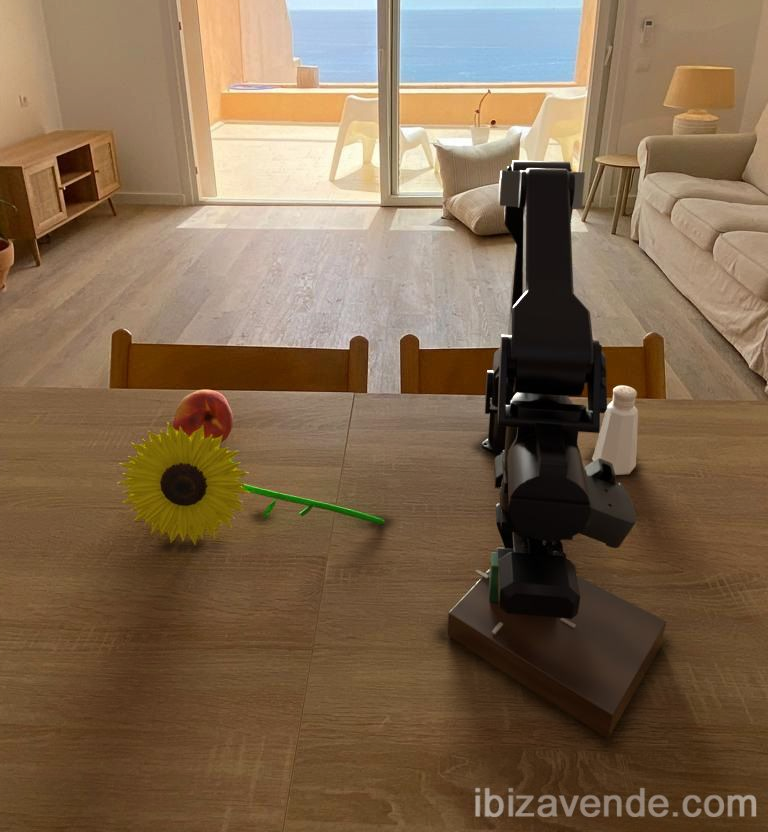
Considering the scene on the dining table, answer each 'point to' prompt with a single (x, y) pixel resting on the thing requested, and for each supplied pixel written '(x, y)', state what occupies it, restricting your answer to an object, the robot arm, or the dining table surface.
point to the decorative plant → (195, 485)
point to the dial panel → (565, 649)
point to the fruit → (204, 414)
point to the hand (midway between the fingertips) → (524, 594)
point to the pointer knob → (493, 579)
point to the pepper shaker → (619, 432)
